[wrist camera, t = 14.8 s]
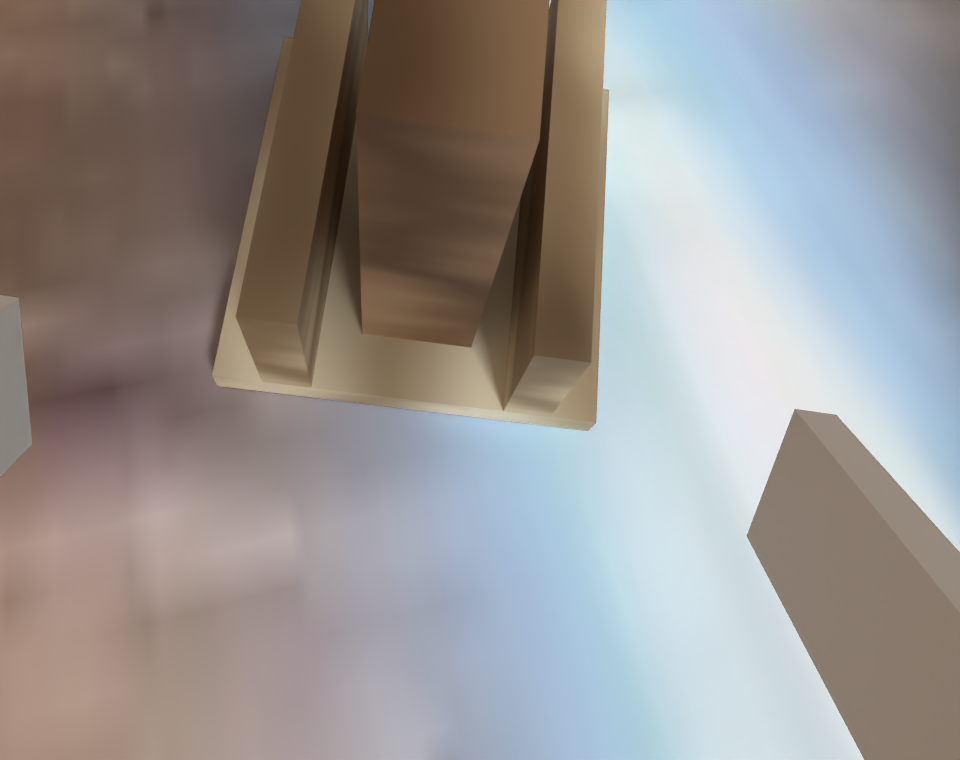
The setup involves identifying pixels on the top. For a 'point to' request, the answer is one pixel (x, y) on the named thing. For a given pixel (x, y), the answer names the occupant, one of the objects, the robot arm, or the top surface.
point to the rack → (336, 246)
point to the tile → (443, 157)
